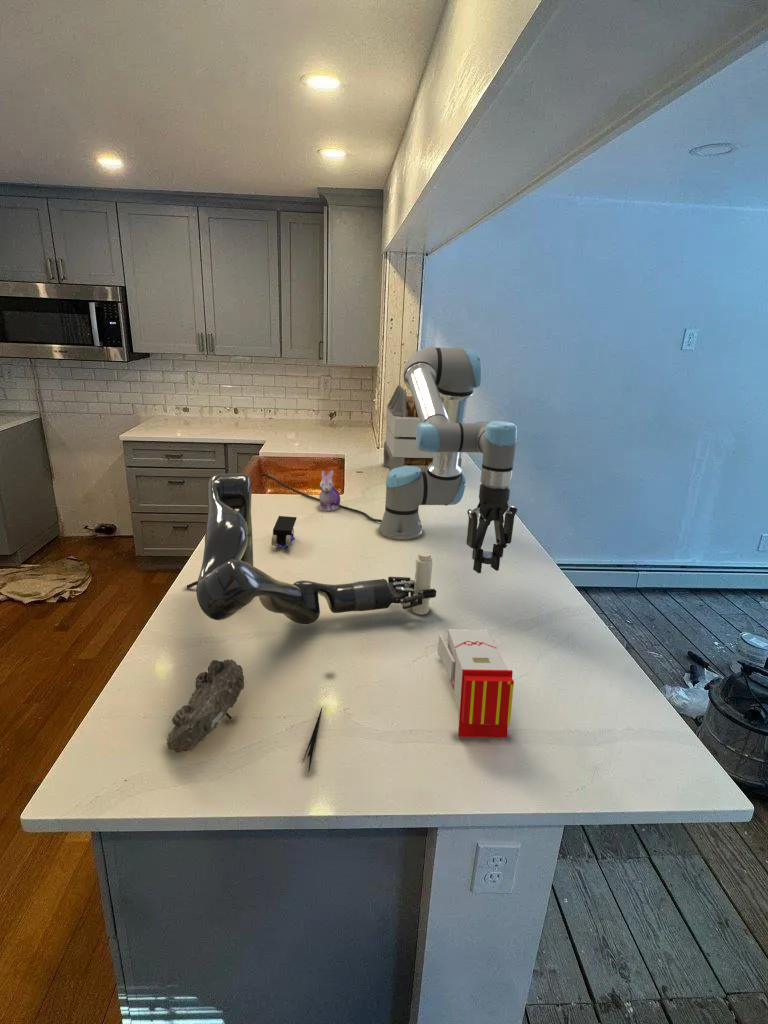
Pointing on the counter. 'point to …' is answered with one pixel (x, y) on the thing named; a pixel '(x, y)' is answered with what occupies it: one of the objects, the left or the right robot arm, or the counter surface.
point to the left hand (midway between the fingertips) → (431, 588)
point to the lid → (489, 557)
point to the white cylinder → (423, 579)
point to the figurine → (328, 493)
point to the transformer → (404, 433)
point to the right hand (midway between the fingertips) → (485, 569)
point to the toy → (478, 682)
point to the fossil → (206, 705)
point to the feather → (313, 740)
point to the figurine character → (283, 531)
